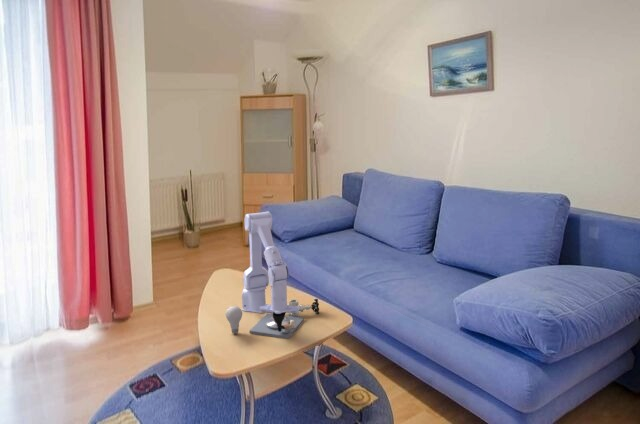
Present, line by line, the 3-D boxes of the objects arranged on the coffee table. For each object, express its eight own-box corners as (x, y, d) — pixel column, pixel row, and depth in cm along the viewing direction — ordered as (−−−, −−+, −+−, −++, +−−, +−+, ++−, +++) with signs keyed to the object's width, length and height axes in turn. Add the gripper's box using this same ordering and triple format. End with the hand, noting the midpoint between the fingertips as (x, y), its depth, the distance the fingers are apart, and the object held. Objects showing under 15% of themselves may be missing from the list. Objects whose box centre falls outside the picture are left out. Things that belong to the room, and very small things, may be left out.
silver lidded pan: (261, 322, 178) (261, 313, 177) (282, 316, 182) (282, 307, 182) (277, 335, 167) (276, 326, 166) (298, 329, 171) (298, 320, 170)
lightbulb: (235, 339, 167) (234, 311, 165) (223, 335, 171) (221, 308, 168) (246, 332, 172) (245, 305, 170) (234, 328, 176) (233, 302, 173)
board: (249, 333, 172) (249, 323, 171) (267, 315, 187) (267, 306, 186) (288, 339, 167) (288, 328, 166) (303, 320, 182) (303, 311, 181)
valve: (290, 320, 182) (319, 317, 184) (289, 304, 181) (319, 302, 183) (288, 313, 189) (316, 310, 191) (287, 298, 187) (316, 295, 189)
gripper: (257, 300, 163) (258, 335, 166) (297, 300, 162) (298, 335, 165) (260, 292, 170) (262, 326, 173) (299, 293, 169) (300, 326, 172)
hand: (280, 330), depth 169 cm, fingers closed, pressing on silver lidded pan
